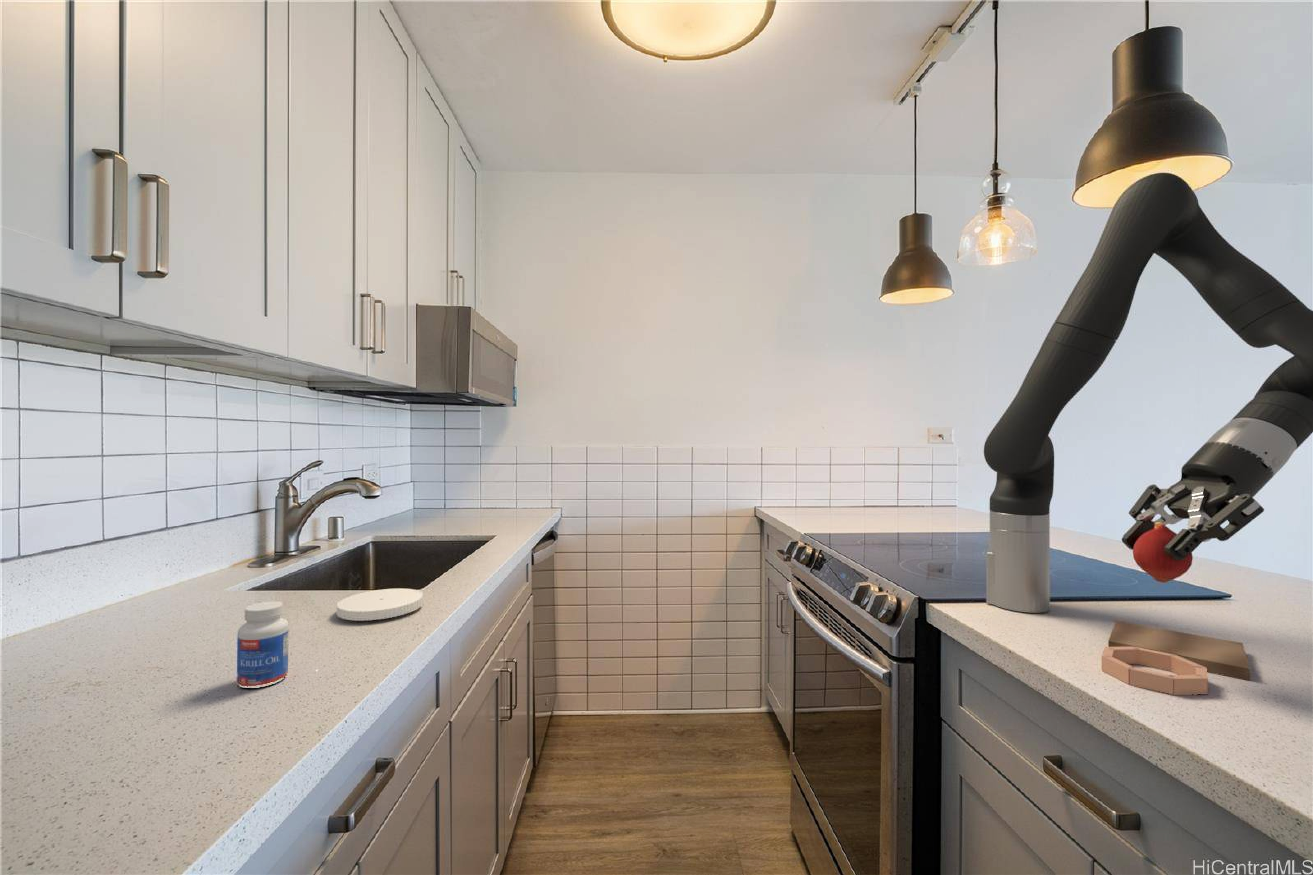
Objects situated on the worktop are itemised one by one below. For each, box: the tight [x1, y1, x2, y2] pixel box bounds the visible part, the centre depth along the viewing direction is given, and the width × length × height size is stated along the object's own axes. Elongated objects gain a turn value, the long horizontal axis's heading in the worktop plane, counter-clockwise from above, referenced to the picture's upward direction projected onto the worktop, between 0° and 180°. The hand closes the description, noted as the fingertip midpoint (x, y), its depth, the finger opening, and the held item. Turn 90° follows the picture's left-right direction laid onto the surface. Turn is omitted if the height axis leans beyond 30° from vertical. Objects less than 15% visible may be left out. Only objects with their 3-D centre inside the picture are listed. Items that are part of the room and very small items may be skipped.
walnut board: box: [1107, 620, 1251, 681], centre depth 79 cm, size 14×12×2 cm
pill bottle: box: [236, 601, 290, 687], centre depth 71 cm, size 6×5×10 cm
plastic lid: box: [335, 587, 424, 622], centre depth 99 cm, size 14×14×2 cm
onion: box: [1132, 522, 1194, 584], centre depth 73 cm, size 6×6×8 cm
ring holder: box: [1101, 646, 1209, 696], centre depth 71 cm, size 10×10×2 cm
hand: (1149, 550), depth 73 cm, fingers closed on onion, 5 cm apart
